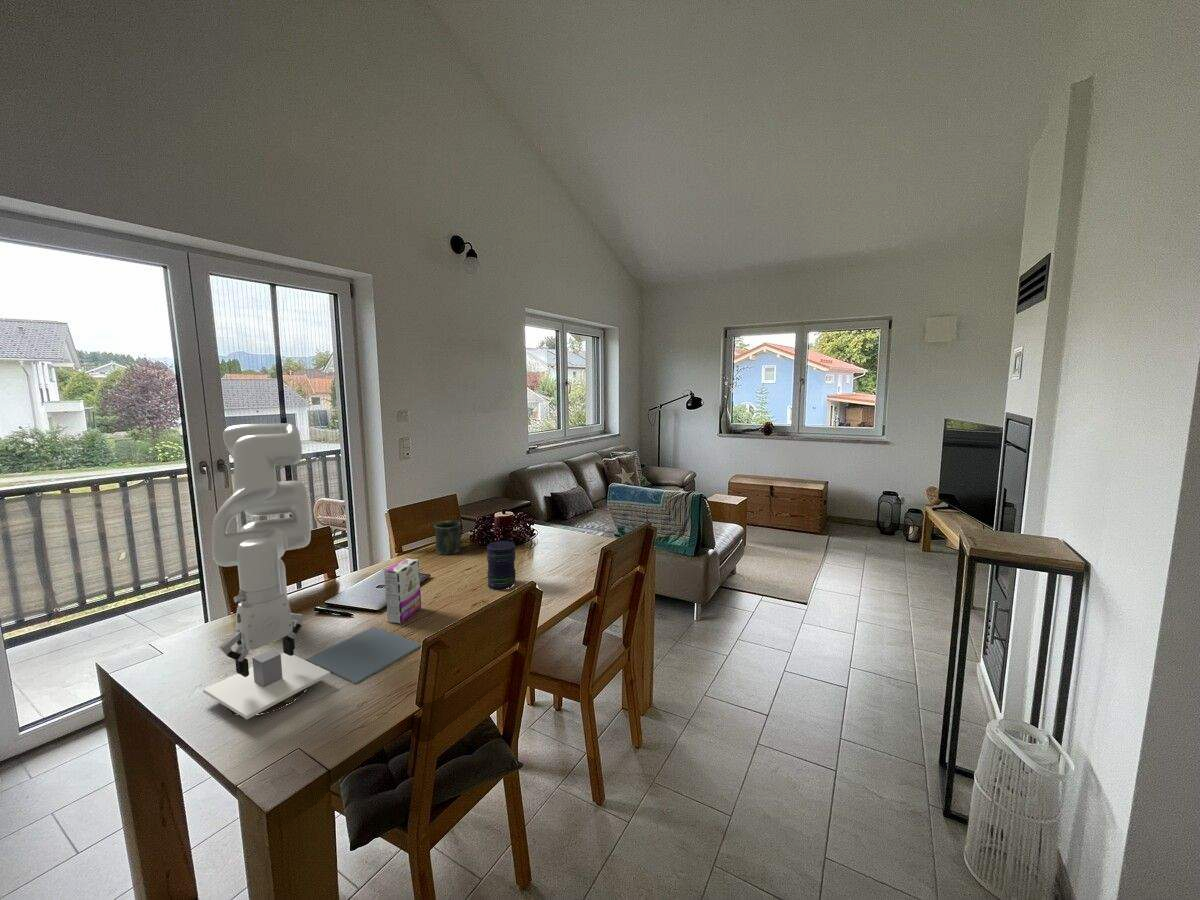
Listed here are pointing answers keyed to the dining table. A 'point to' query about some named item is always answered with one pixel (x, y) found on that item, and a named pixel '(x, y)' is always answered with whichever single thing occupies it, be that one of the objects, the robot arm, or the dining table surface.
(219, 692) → the lid
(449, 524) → the mug
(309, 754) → the dining table surface
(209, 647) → the dining table surface
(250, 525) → the robot arm
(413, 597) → the candy bar box
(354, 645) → the mat
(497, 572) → the storage jar
